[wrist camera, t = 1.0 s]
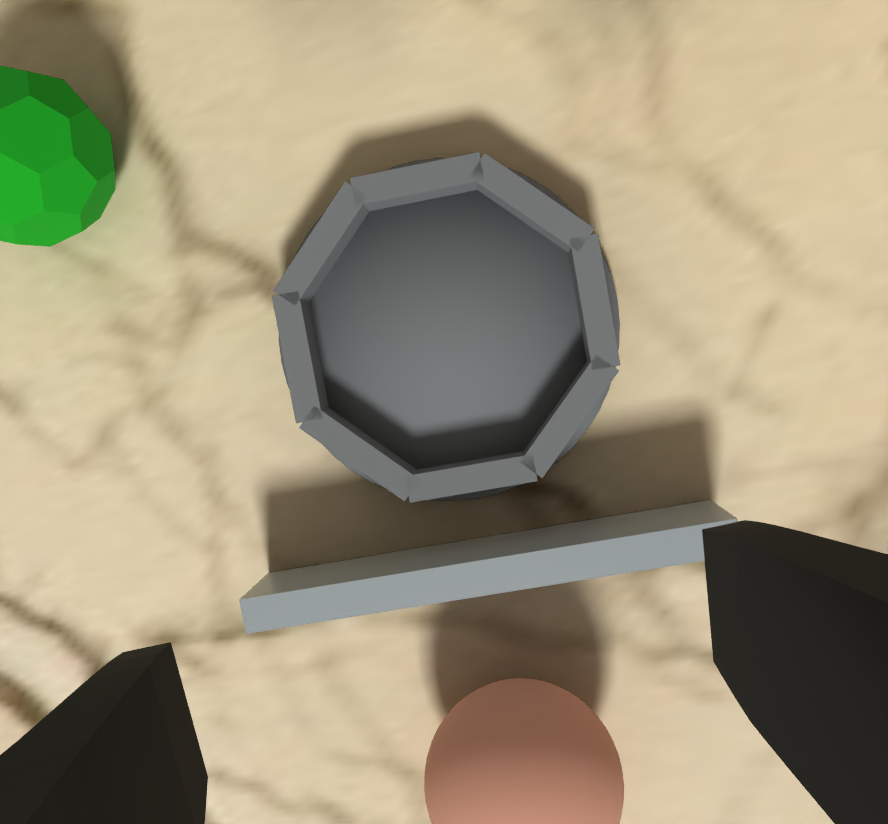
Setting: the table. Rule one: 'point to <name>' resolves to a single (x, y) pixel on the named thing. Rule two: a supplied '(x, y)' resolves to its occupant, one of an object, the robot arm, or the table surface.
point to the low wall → (482, 566)
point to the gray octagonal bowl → (448, 328)
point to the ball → (523, 760)
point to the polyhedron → (49, 160)
